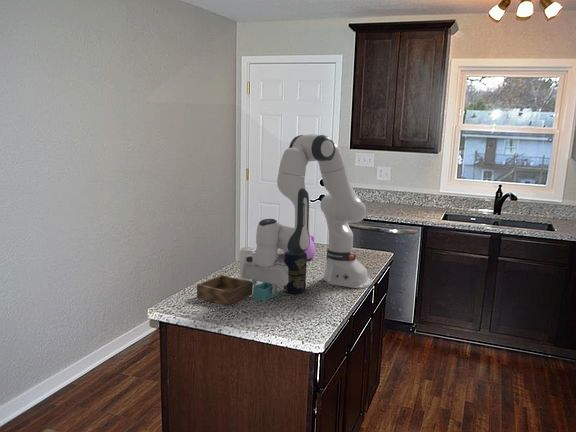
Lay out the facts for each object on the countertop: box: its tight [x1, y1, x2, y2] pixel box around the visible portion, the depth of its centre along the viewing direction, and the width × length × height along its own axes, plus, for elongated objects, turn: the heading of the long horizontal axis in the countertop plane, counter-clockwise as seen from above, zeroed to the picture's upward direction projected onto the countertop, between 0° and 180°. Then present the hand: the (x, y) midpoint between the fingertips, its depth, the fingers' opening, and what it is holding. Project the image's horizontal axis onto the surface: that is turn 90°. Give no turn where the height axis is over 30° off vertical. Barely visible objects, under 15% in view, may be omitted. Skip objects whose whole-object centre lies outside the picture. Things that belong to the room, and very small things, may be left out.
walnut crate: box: [196, 274, 254, 307], centre depth 203 cm, size 16×16×6 cm
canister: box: [282, 251, 308, 294], centre depth 211 cm, size 10×10×18 cm
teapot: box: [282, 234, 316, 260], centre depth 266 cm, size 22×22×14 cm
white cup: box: [238, 246, 255, 282], centre depth 222 cm, size 7×7×15 cm
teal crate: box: [252, 282, 278, 302], centre depth 204 cm, size 6×9×5 cm, turn 150°
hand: (264, 292), depth 203 cm, fingers open, 6 cm apart
